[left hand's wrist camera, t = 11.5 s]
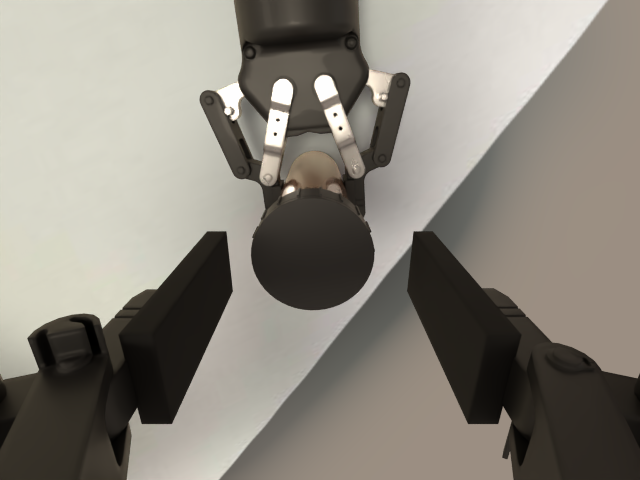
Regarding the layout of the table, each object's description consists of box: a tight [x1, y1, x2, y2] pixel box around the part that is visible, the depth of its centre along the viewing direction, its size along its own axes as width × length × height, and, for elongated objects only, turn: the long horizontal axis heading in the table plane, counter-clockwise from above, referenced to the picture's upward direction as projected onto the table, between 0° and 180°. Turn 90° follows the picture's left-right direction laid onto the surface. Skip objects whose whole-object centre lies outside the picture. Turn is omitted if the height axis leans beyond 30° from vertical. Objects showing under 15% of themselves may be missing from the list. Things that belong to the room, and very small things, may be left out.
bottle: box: [279, 151, 349, 200], centre depth 23 cm, size 4×4×17 cm
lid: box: [251, 187, 375, 310], centre depth 16 cm, size 5×6×2 cm
